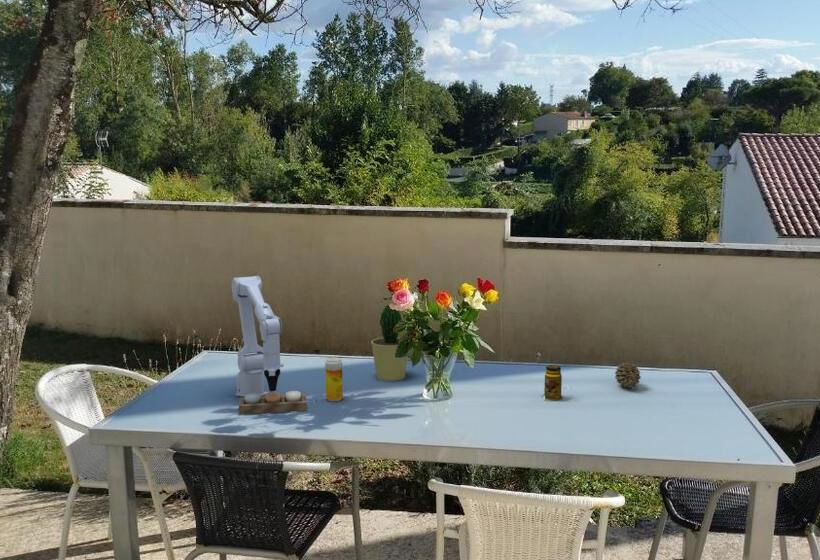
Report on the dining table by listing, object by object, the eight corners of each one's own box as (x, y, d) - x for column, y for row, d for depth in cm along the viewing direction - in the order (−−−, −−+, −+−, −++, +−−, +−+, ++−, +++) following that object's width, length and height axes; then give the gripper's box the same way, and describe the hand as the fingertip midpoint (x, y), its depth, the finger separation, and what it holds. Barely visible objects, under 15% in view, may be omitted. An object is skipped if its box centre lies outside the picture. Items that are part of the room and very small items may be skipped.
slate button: (244, 405, 261) (244, 398, 261) (245, 401, 266) (245, 393, 266) (260, 404, 262) (259, 397, 262) (260, 400, 267) (260, 392, 267)
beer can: (340, 402, 272) (339, 361, 270) (323, 401, 274) (323, 360, 271) (344, 397, 278) (344, 357, 276) (328, 396, 279) (328, 356, 277)
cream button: (285, 403, 264) (285, 395, 263) (285, 399, 269) (285, 391, 268) (301, 402, 265) (300, 394, 264) (300, 398, 270) (300, 390, 269)
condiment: (545, 401, 273) (546, 368, 271) (540, 394, 281) (541, 362, 280) (565, 401, 273) (566, 368, 272) (559, 394, 282) (560, 362, 280)
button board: (239, 414, 259) (238, 406, 259) (240, 405, 269) (239, 397, 268) (307, 410, 263) (306, 402, 263) (305, 402, 273) (305, 394, 272)
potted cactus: (363, 377, 304) (362, 304, 300) (389, 370, 316) (388, 299, 311) (392, 384, 294) (391, 308, 290) (417, 376, 306) (417, 303, 301)
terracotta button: (265, 404, 263) (265, 396, 262) (265, 400, 268) (265, 392, 267) (280, 403, 263) (280, 396, 263) (280, 399, 268) (280, 391, 268)
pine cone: (644, 393, 282) (645, 367, 280) (617, 392, 283) (618, 367, 281) (632, 377, 304) (633, 353, 302) (608, 376, 305) (608, 352, 303)
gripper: (283, 357, 257) (284, 395, 259) (282, 347, 271) (284, 384, 273) (262, 358, 255) (263, 397, 257) (262, 348, 269) (264, 385, 271)
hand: (272, 390), depth 265 cm, fingers closed
